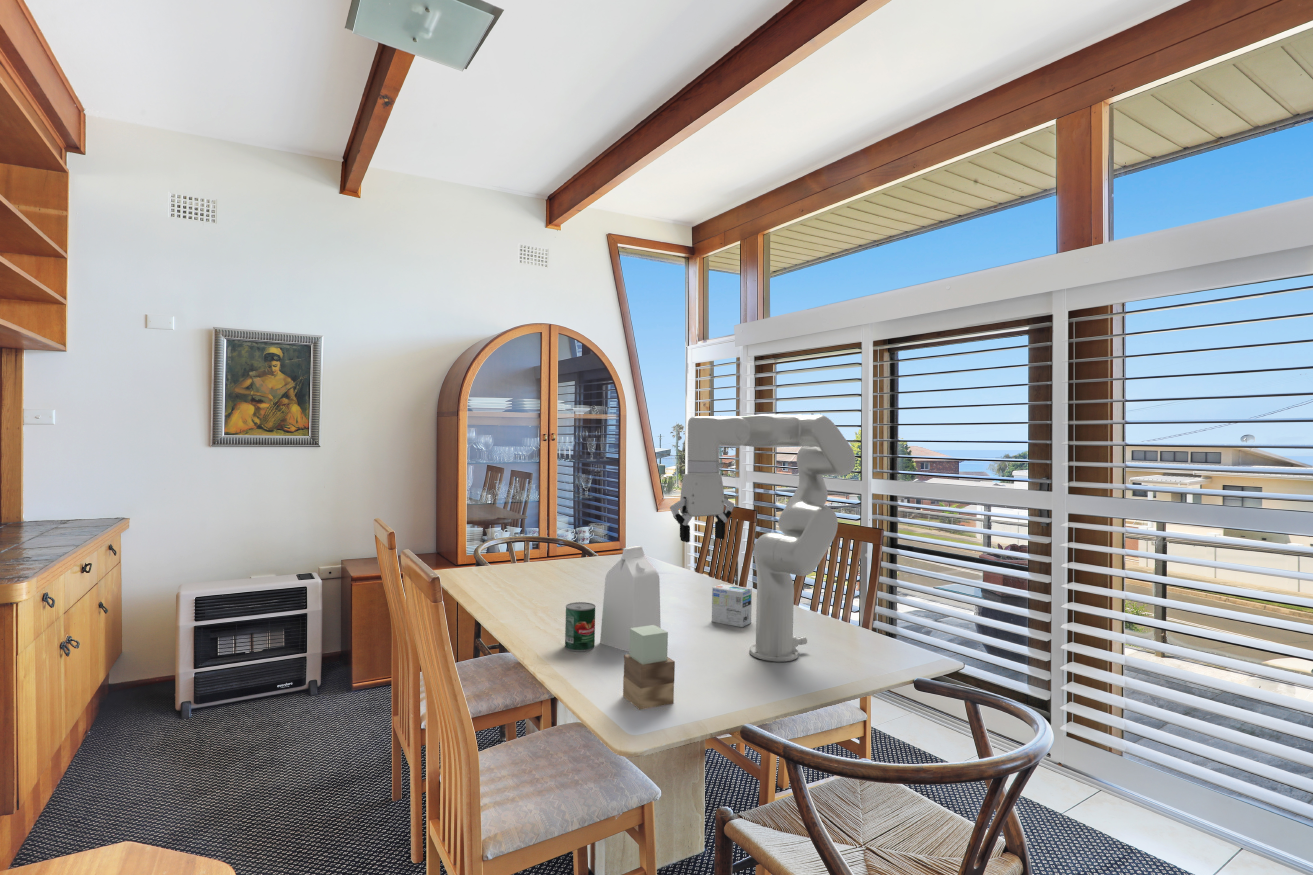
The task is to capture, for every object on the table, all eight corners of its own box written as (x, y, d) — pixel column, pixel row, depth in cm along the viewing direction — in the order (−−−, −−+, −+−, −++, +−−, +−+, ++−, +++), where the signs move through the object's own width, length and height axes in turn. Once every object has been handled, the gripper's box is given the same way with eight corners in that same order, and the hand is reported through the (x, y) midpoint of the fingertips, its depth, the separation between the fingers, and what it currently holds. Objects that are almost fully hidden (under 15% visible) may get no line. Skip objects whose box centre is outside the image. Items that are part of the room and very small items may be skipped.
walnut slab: (656, 670, 149) (656, 650, 149) (674, 682, 142) (674, 661, 142) (623, 675, 145) (624, 655, 145) (640, 688, 138) (641, 666, 138)
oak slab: (655, 690, 149) (656, 670, 149) (673, 703, 142) (673, 682, 142) (623, 696, 145) (623, 675, 145) (639, 710, 138) (640, 688, 138)
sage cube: (653, 652, 148) (654, 624, 148) (667, 660, 143) (667, 632, 143) (629, 655, 145) (629, 628, 145) (642, 664, 140) (642, 635, 140)
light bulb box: (752, 622, 206) (752, 587, 206) (742, 627, 200) (743, 591, 200) (720, 617, 211) (721, 582, 211) (710, 621, 206) (711, 586, 206)
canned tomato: (573, 640, 183) (574, 600, 183) (599, 644, 181) (600, 603, 181) (559, 649, 176) (560, 607, 176) (586, 653, 173) (587, 610, 173)
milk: (629, 633, 191) (631, 542, 191) (660, 642, 184) (663, 547, 184) (599, 643, 182) (602, 547, 182) (631, 652, 175) (634, 552, 175)
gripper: (724, 466, 167) (724, 535, 168) (663, 468, 159) (663, 540, 159) (742, 468, 161) (741, 539, 161) (679, 470, 153) (679, 545, 153)
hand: (702, 539), depth 160 cm, fingers open, 9 cm apart
